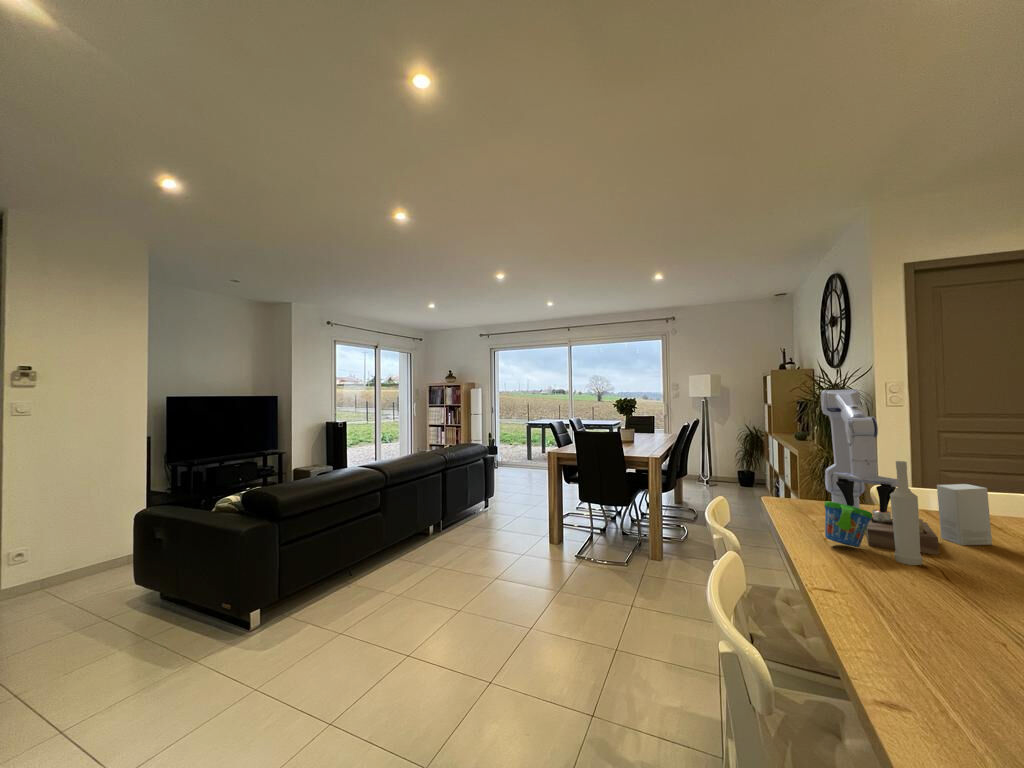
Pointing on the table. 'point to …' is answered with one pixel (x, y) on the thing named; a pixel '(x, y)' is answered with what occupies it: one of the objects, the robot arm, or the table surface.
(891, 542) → the walnut block
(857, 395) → the robot arm
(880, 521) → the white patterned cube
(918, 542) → the bottle
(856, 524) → the snack cup
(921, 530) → the maple dowel
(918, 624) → the table surface
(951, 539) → the skincare box
